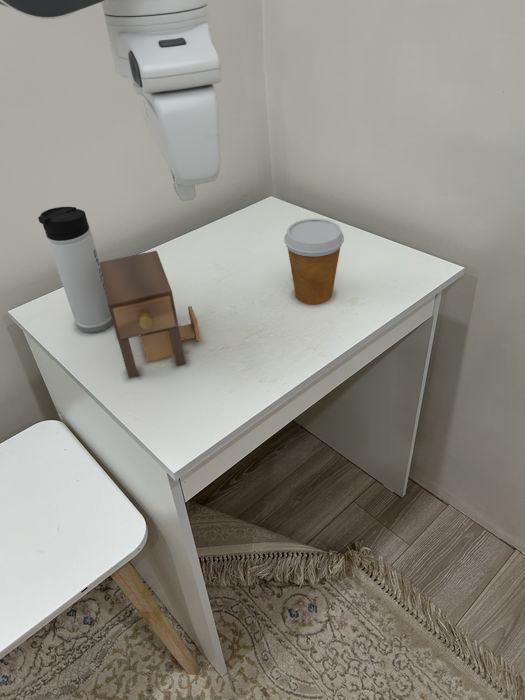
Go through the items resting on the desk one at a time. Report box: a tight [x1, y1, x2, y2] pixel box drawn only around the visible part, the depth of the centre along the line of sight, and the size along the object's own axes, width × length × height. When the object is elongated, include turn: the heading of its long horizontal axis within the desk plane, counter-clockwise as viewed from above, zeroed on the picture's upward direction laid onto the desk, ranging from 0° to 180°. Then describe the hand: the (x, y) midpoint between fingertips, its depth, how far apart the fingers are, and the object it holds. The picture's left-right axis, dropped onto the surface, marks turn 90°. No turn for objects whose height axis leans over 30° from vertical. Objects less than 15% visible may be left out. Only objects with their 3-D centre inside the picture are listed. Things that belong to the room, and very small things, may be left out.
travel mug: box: [37, 206, 113, 334], centre depth 84 cm, size 6×7×20 cm
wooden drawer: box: [140, 305, 201, 363], centre depth 84 cm, size 9×7×5 cm
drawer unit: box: [99, 250, 187, 379], centre depth 80 cm, size 8×14×13 cm, turn 18°
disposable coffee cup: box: [283, 218, 345, 305], centre depth 90 cm, size 10×10×12 cm
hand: (185, 195), depth 57 cm, fingers closed
